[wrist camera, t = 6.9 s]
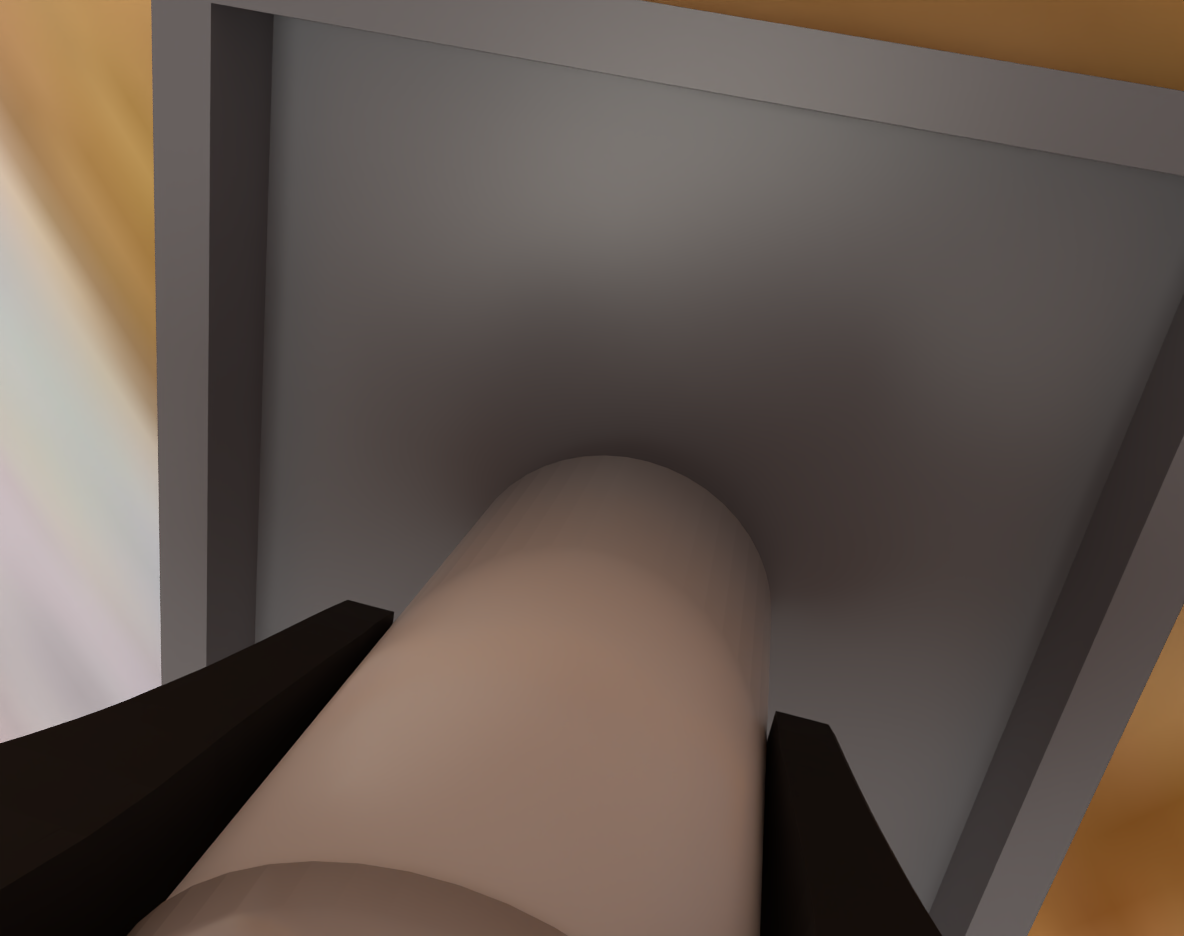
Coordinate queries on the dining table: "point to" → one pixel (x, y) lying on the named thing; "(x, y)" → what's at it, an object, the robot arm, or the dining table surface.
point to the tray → (696, 359)
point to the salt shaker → (529, 738)
